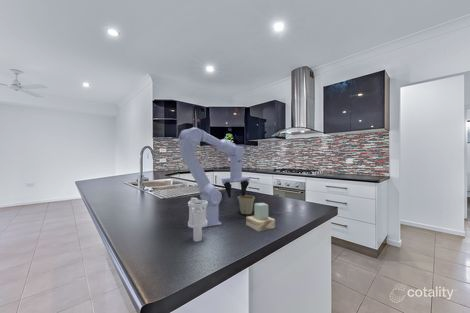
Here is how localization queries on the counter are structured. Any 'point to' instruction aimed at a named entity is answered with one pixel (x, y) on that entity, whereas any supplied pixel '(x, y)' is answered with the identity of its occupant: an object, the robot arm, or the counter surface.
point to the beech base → (260, 223)
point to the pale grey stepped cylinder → (197, 217)
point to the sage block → (261, 211)
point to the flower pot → (246, 204)
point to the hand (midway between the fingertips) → (236, 196)
